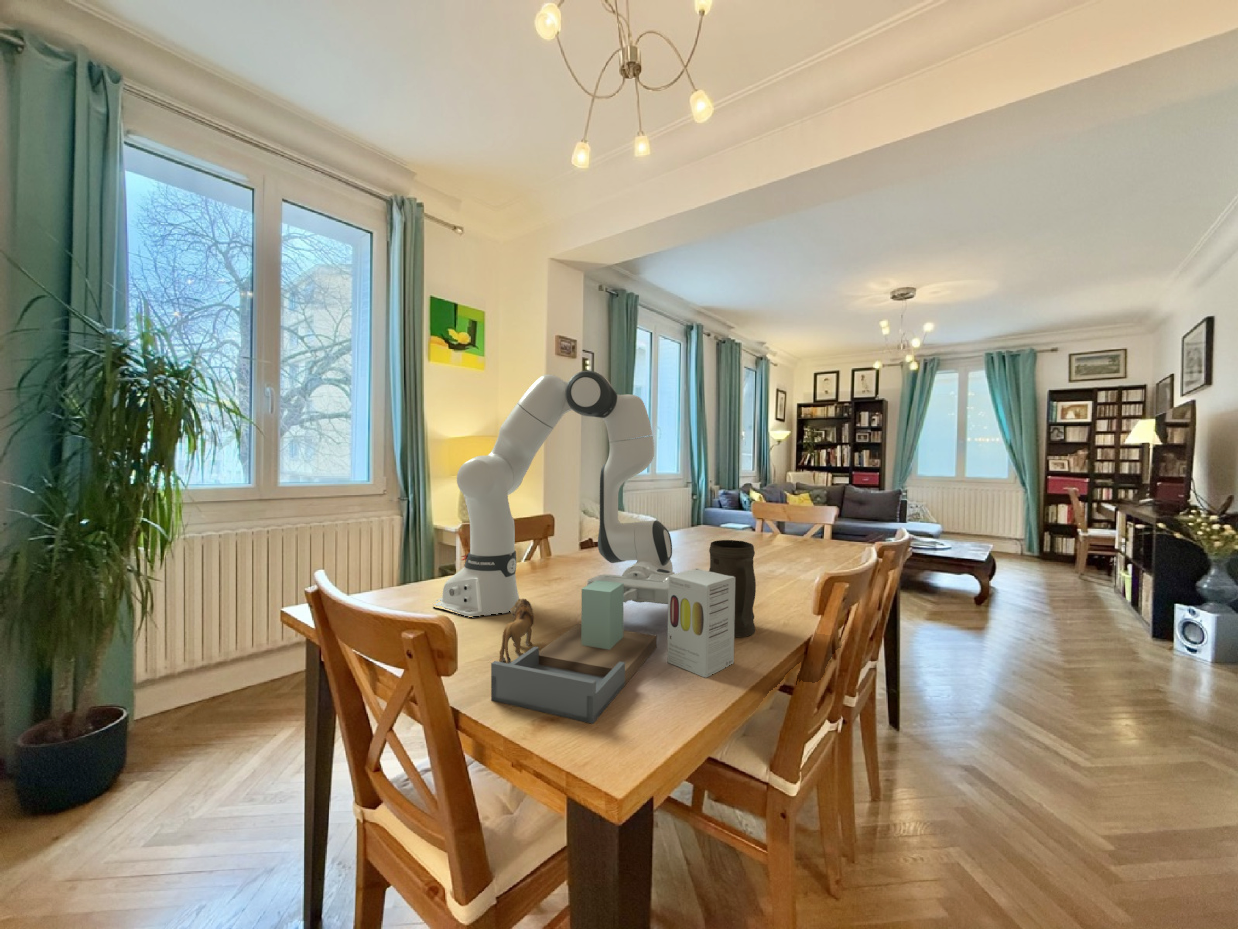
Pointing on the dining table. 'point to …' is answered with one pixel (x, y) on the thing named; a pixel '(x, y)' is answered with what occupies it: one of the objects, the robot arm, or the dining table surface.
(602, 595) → the sage block
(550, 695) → the box
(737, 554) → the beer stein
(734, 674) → the dining table surface
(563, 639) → the brown wooden board
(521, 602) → the lion figurine
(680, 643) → the supplement box
